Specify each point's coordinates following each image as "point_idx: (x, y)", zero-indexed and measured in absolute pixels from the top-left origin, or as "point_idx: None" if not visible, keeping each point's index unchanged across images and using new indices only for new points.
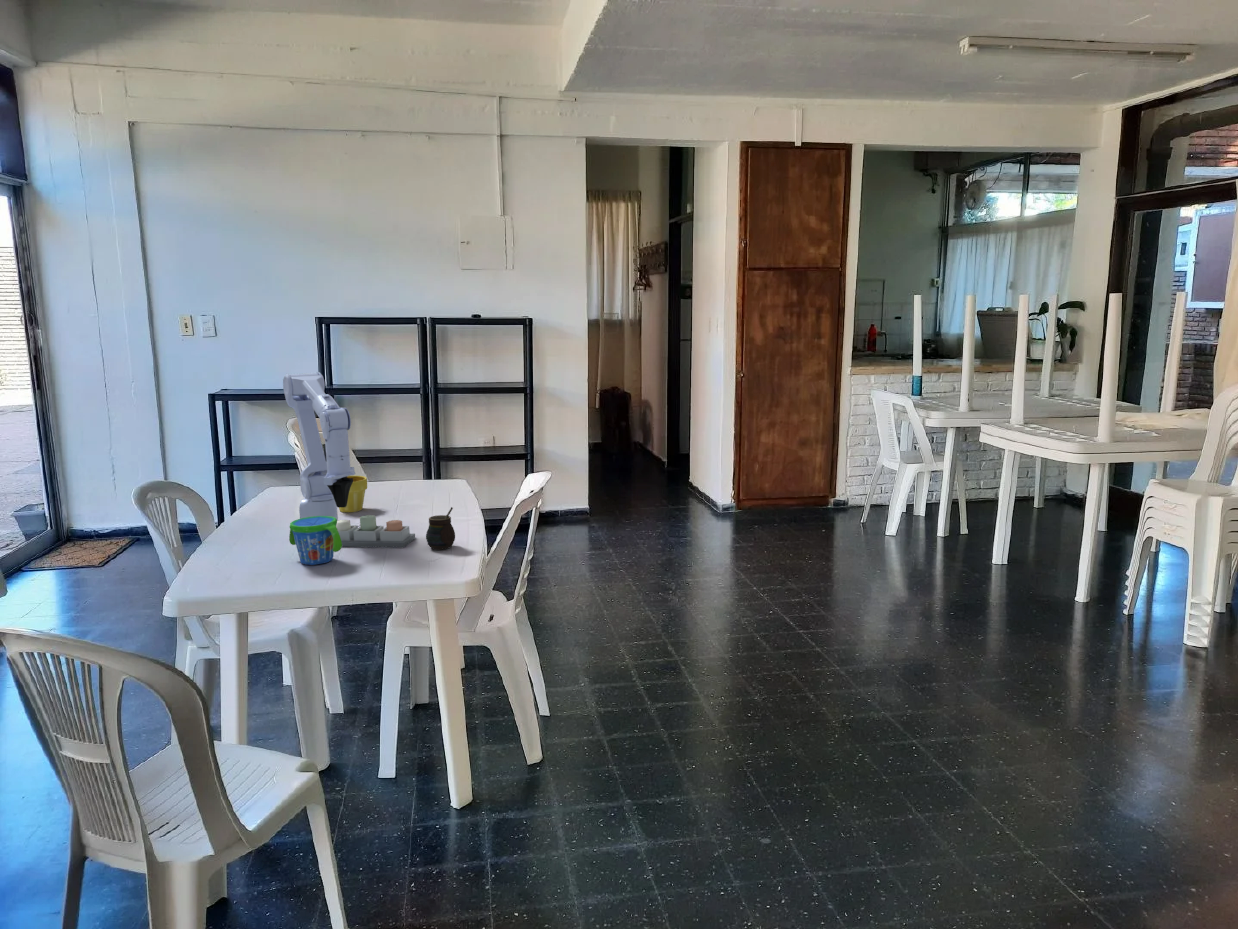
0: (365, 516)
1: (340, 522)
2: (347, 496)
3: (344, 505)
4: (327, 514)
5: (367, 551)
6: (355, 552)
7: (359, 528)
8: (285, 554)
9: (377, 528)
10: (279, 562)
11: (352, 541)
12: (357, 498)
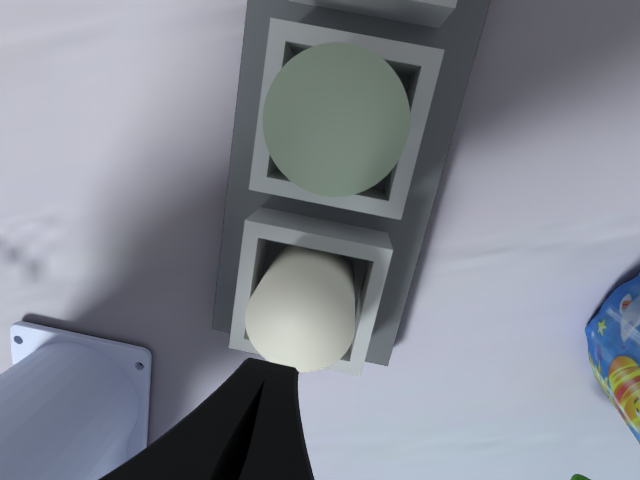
0: (309, 151)
1: (322, 331)
2: (222, 420)
3: (297, 379)
4: (66, 435)
5: (546, 97)
6: (546, 166)
7: None
8: (480, 471)
9: None
10: (609, 473)
11: (410, 212)
12: None
